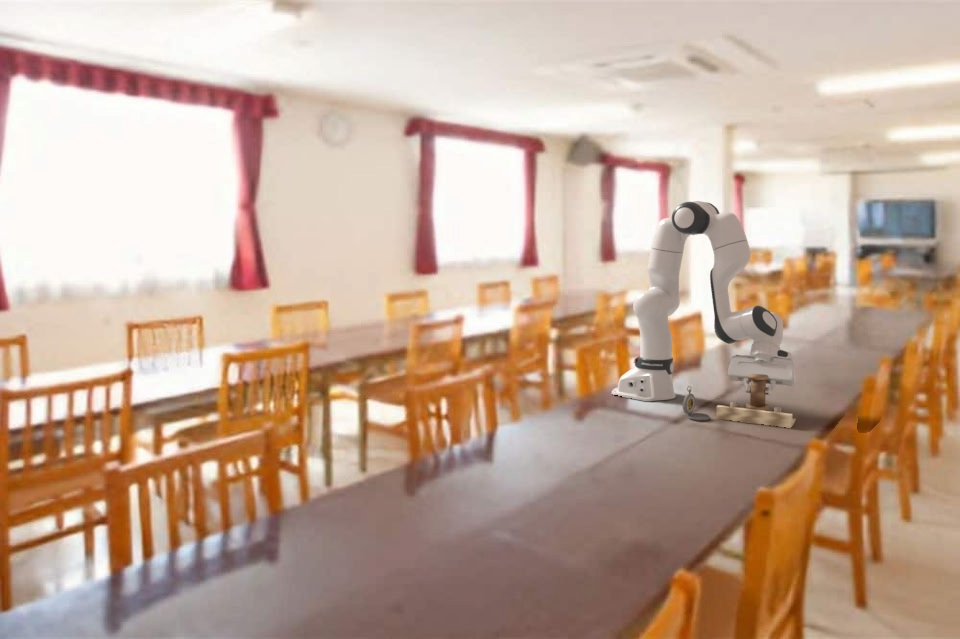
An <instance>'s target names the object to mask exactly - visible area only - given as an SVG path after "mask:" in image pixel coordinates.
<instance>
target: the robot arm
mask: <svg viewBox="0 0 960 639" xmlns="http://www.w3.org/2000/svg"><path fill="white" fill-rule="evenodd" d="M702 234H703V235H705V236H707V238H708V240H709V242H710V245H711V247H712V251H713V257H714V258H713V260H714V262H713V266H712V269H710V274H709V280H710V282H709V283H710V291H711V299H712V306H713V313H714V316H713V317H714V323H713V324H714V326H713V327H714V333H715V336H716V337H717V338H718V339H719V340H721V341H722V342H723V343H726V344H728V345H732V344H734V343H738V342H741V341H743V340H747V339H751V340H753V342H752V344H751V349H750V352H749V355H747V354H746V355H741V354H735V355H733V356H731V357H730V358H729V364H728V365H729V366H728V369H727V374H726V375H727V378H728V379H729V380H730V381H731V382H732V381H733V382H743V384H744V387H745V390H744V391H745V393H748V394H751V385H750V383H751V379H750V378H749V375H750V374H763V375H768V379H767V380H766V385H769V386H768V387H767V386H766V388H765V394H766V395H767V396H770V395H771V392H772V391H773V390H774V389H775V388H776V387H777V385H779V386H788V387H789V386H790V387H793V385H795V384H796V369H795V368H796V367H795V365H794V364H795V362H794V357H793V353H792V352H790V351H787V350H783V349H781V347H780V346H781V344H782V341H783V335H784V322H783V318H782V317H781V316H780V315H779V314H777V313H775V312H774V311H769V310H768V309H767V308H765V307H764V306H762V305H755V306H750V307H745V308H742V309H740V310H736V311H732V310H731V304H730V295H729V285H730V283H731V281H732V280H733V279H734V278H735V277H736V276H737V275H738V274H739V273H741V272H742V271H743V270H744V269H745V268H746V267H747V266H748V263H749V262H750V260H751V248H750V245H749V242H748V238H747V235H746V233H745V230H744V228H743V226H742V223H741V222H740V219H739V218H738V216H737V215H736V214H734V213H733V212H729V211H728V212H726V211H725V212H720V211H719V209H718V208H717V207H716V206H715V205H714V204H712V203H711V202H707V201H706V202H705V201H699V200H695V201H685V202H683V203H680V204H679V205H677V206H676V207H675V209H674V210H673V212H672V214H671V217H666V218H663V219H662V218H661V219H660V221H658V223H657V225H656V228H655V230H654V234H653V237H652V242H651V246H650V251H649V252H650V253H649V257H648V262H647V263H648V264H647V269H646V270H647V273H648V289H647V290H644V291H642V292H641V293H639V294H638V295H637V296H636V297H635V299H634V301H633V304H632V309H633V313H634V314H635V317H636V319H637V324H638V329H639V338H640V340H639V341H640V343H639V344H640V345H639V349H640V351H639V355H637V356H636V358H634V359H633V363H634V366H633V367H632V368H631V369H629V370H628V371H626V372H625V373H624V374H622V375H621V376H620V378H619V380H618V385H617V386H616V387H615V388H613V389H612V390H611V395H612V394H613V395H612V396H614V395H618V396H617V397H620V396H622V398H627V399H631V398H632V400H638V401H644V402H655V401H667V400H668V401H669V400H673V399H675V398H676V397H677V396H676V393H675V387H674V383H673V372H674V359H673V335H672V333H671V330H670V325H669V317H670V316H672V315H673V314H675V312H676V311H677V309H678V308H679V306H680V304H681V298H680V296H679V294H680V272H681V264H682V260H683V254H684V250H685V244H686V241H687V239H688V238H689V236H691V235H692V236H697V235H702ZM766 395H765V396H766Z"/></svg>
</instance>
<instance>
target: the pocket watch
mask: <svg viewBox="0 0 960 639" xmlns="http://www.w3.org/2000/svg"><path fill="white" fill-rule="evenodd" d="M686 391H687V392H688V393H687V394H685V396H684V399H683V402H682V410H683V412H684V413H685V414H686V415H687V417H688V418H689V419H690V420H693V421H702V422H703V421H708V420H710V419H711V416H710V415H709V414H707V413H700V412H693V411H694V410H695V406H696V397H695V395H694V393H691V392H692V387H691V386H690V385H688V386H687V388H686Z"/></svg>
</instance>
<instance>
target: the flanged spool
mask: <svg viewBox="0 0 960 639" xmlns="http://www.w3.org/2000/svg"><path fill="white" fill-rule="evenodd" d="M749 378H750V379H751V382H750V386H751V393H750V398H749V399H750V401H749V402H747V403H746V404H745V408H747V409H755V410H763V411H770V409H771V408H770V406H771V405H769V404H767V403H766V394H765V388H766V387H767V384H766V380H767V379H768V375H763V374H750V375H749Z"/></svg>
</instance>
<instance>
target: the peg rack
mask: <svg viewBox="0 0 960 639" xmlns="http://www.w3.org/2000/svg"><path fill="white" fill-rule="evenodd" d="M715 417H716V418H715V419H716V420H723V421H729V420H732V421H731V422H737V421H740V422H739V423H745V422H749V423H748V424H753V423H757V424H756V425H761V424H764V425H763V426H769V425H771V426H770V427H776V426H778V427H777V428H784V427H786V428H785V429H792V428H791V427H793V425H794V424H795V423H796V420H797V419H796V418H793V417H794V416H793V413H788V412H782V407H780V406H774V408H773V411H770V410H769V411H763V410H755V409H747V408H746V407H738V402H736V401H731V402H730V404H729V405H728V406H727V405H720V404H718V405H716V416H715Z"/></svg>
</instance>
